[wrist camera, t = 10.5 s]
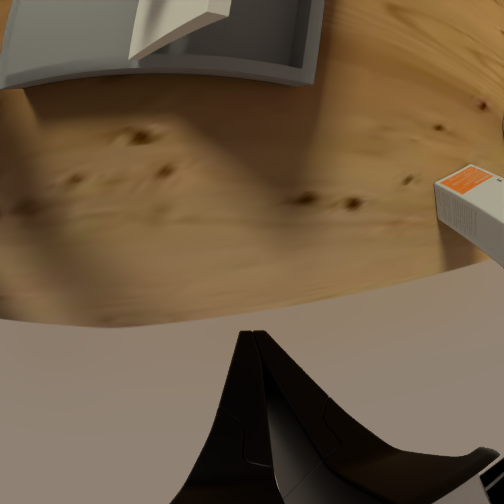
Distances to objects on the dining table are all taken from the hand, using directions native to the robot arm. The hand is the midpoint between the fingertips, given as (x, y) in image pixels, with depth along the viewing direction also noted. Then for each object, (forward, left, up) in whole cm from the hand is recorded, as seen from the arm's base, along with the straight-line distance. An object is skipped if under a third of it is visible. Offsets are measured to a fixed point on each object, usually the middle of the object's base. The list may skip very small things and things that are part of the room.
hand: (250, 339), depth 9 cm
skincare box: (+22, +4, -13) cm, 26 cm away
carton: (-6, +18, -13) cm, 23 cm away
